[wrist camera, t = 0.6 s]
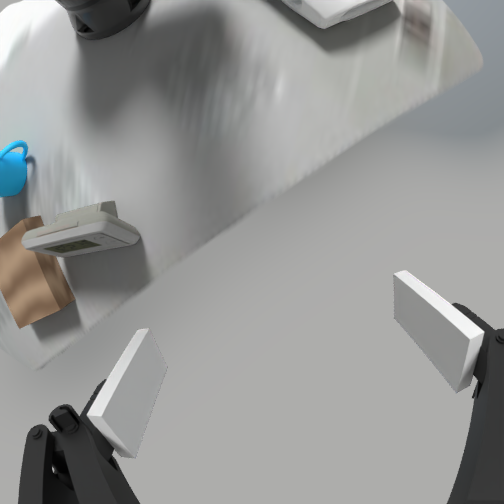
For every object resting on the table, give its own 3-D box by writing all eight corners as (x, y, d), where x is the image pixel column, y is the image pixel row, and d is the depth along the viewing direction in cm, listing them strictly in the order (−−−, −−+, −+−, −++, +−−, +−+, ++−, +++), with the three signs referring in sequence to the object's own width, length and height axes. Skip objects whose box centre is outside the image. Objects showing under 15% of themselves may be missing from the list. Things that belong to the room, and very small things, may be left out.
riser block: (2, 246, 40) (-14, 251, 35) (40, 215, 39) (22, 219, 34) (33, 318, 43) (19, 328, 38) (75, 299, 42) (60, 309, 37)
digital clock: (60, 254, 41) (21, 271, 30) (58, 201, 39) (16, 207, 28) (142, 260, 41) (113, 282, 31) (142, 200, 39) (110, 205, 29)
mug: (11, 204, 38) (-18, 209, 30) (-2, 173, 37) (-30, 174, 29) (44, 159, 37) (14, 157, 29) (29, 128, 35) (0, 123, 27)
